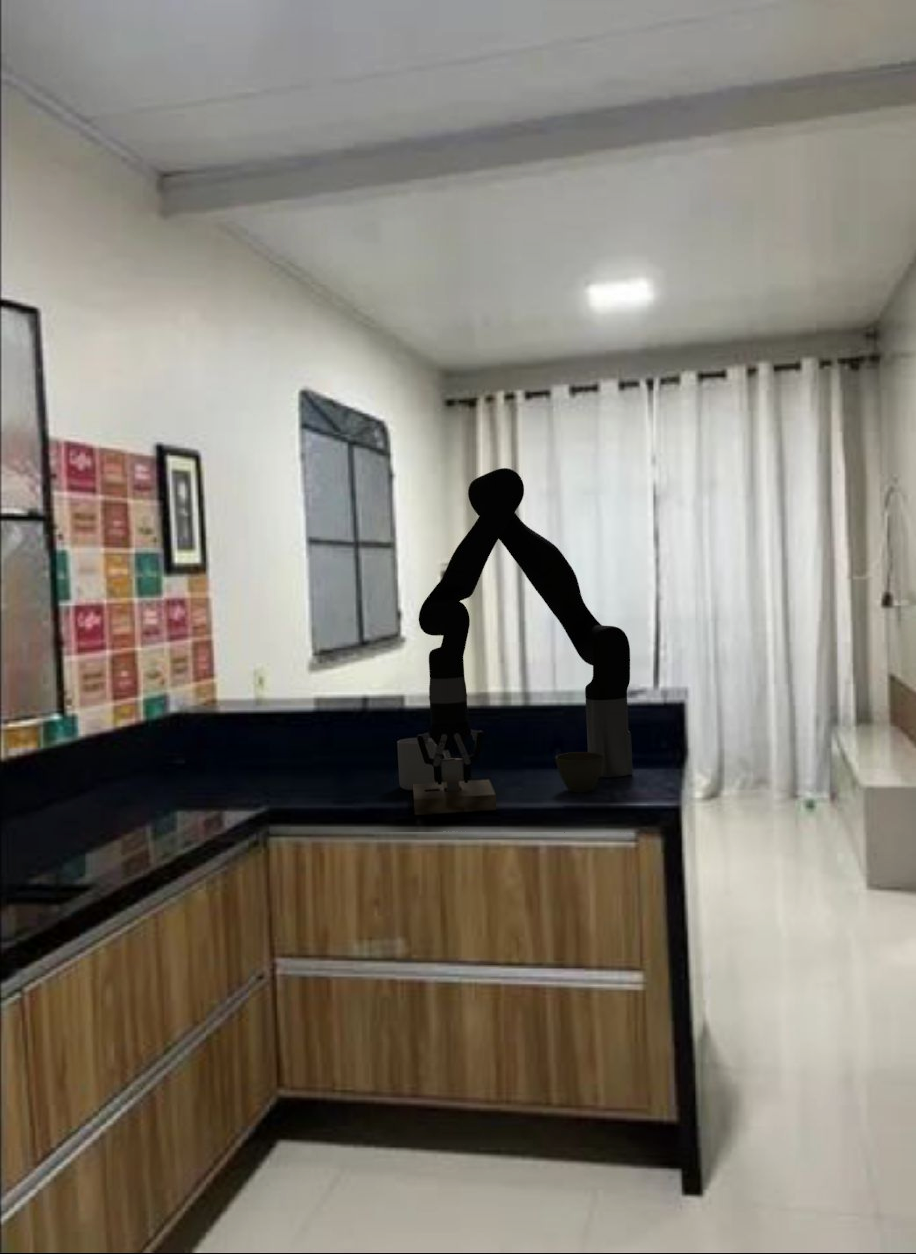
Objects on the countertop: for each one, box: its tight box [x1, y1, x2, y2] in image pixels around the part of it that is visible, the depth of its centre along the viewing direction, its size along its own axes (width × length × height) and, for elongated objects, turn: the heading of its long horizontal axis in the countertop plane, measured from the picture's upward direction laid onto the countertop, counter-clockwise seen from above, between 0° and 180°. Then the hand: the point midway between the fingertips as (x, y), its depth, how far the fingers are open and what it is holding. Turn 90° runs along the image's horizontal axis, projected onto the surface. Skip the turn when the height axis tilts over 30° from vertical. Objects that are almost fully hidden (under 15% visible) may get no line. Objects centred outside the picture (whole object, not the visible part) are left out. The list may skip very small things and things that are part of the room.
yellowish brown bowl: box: [555, 751, 604, 793], centre depth 229 cm, size 10×10×7 cm
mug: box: [396, 737, 452, 791], centre depth 242 cm, size 12×8×10 cm
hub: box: [412, 779, 497, 816], centre depth 222 cm, size 16×16×3 cm
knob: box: [439, 757, 464, 791], centre depth 222 cm, size 5×5×8 cm
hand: (452, 782), depth 222 cm, fingers closed on knob, 4 cm apart
